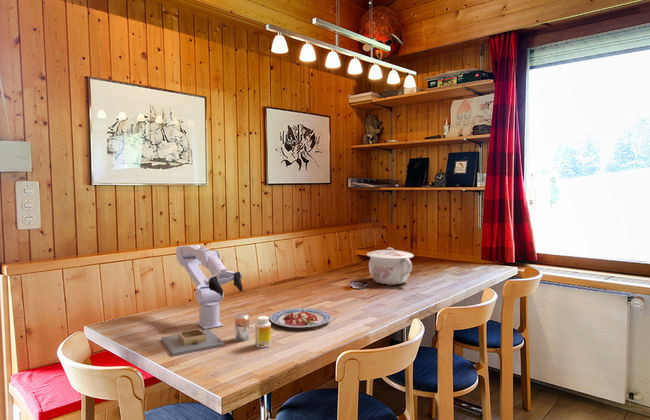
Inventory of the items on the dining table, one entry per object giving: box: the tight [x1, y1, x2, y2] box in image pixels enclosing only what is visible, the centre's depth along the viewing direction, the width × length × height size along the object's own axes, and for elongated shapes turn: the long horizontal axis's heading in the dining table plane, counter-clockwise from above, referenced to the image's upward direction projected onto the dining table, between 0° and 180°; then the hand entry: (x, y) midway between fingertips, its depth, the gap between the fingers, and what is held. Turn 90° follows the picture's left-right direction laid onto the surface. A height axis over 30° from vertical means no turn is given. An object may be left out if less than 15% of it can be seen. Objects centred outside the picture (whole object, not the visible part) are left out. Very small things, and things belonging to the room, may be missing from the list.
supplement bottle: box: [254, 315, 272, 349], centre depth 161 cm, size 6×6×10 cm
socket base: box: [160, 328, 226, 357], centre depth 164 cm, size 18×18×1 cm
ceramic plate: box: [269, 307, 332, 329], centre depth 189 cm, size 26×26×3 cm
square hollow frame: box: [177, 328, 207, 346], centre depth 164 cm, size 11×8×2 cm
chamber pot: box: [366, 247, 415, 286], centre depth 260 cm, size 28×28×21 cm
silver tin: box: [234, 313, 250, 342], centre depth 168 cm, size 5×5×9 cm
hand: (231, 291), depth 165 cm, fingers open, 7 cm apart
